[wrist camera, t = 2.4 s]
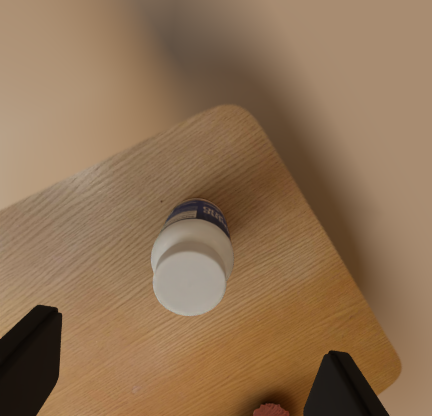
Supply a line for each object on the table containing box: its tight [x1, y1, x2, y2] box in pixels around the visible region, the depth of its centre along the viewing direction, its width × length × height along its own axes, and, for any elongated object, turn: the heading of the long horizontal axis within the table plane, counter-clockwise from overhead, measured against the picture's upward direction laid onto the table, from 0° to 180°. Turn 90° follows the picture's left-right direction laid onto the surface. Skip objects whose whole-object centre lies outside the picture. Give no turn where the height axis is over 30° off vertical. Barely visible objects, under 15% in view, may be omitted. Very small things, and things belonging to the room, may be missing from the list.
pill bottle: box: [151, 198, 234, 316], centre depth 18 cm, size 5×5×10 cm
